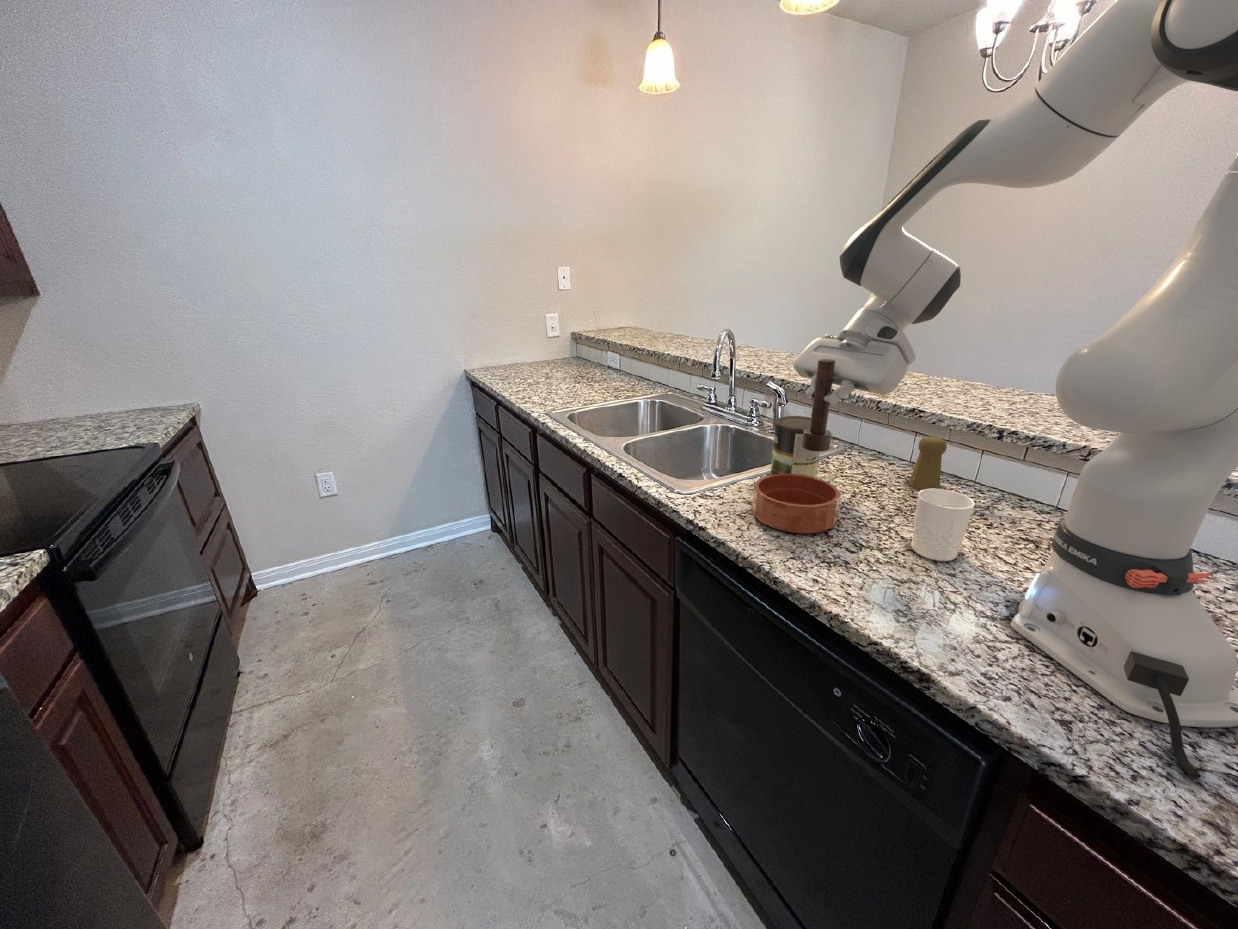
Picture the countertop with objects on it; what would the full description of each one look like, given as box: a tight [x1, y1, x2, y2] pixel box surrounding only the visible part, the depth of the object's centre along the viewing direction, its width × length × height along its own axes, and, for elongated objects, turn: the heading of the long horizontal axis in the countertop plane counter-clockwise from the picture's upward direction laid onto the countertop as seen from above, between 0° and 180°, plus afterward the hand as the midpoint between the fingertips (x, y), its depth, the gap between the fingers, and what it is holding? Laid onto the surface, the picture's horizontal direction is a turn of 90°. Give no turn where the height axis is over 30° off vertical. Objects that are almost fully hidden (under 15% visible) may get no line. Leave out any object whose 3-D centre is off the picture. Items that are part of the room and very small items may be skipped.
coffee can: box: [769, 415, 821, 478], centre depth 112 cm, size 10×10×14 cm
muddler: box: [802, 359, 835, 453], centre depth 89 cm, size 5×5×16 cm
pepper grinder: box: [908, 436, 948, 491], centre depth 109 cm, size 6×6×11 cm
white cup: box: [910, 488, 976, 562], centre depth 83 cm, size 8×8×10 cm
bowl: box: [752, 474, 841, 534], centre depth 97 cm, size 16×16×6 cm
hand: (819, 400), depth 89 cm, fingers closed on muddler, 3 cm apart
